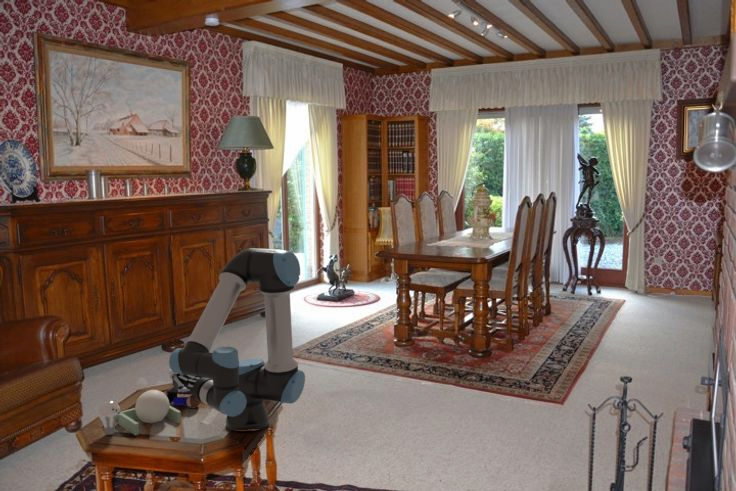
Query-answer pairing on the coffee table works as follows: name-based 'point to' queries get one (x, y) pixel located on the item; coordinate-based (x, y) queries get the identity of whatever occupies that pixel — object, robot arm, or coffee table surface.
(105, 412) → the light bulb
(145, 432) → the coffee table surface
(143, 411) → the ball
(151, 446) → the coffee table surface
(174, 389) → the figurine character
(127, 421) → the green u-shaped channel
